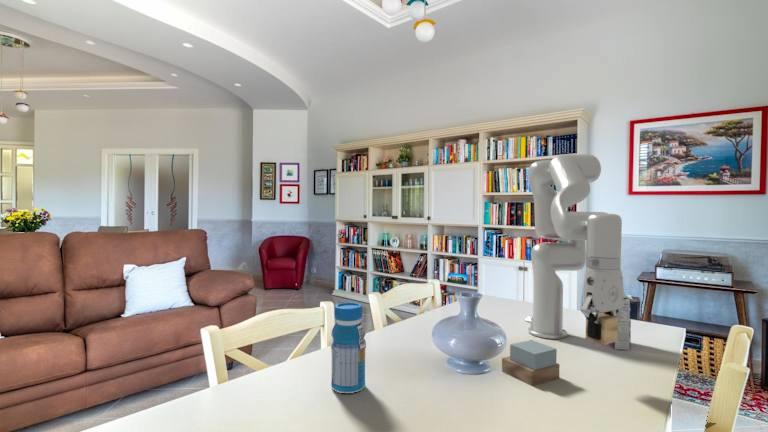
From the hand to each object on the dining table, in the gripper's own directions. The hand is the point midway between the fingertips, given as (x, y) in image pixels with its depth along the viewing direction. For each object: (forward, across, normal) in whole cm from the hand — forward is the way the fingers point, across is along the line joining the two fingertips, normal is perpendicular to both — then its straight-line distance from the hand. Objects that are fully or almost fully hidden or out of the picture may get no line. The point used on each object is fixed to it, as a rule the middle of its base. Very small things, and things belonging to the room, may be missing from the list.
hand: (601, 335), depth 100 cm
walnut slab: (+13, -12, +12) cm, 21 cm away
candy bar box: (+13, +32, +15) cm, 37 cm away
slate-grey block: (+8, -11, +11) cm, 18 cm away
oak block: (+1, 0, 0) cm, 1 cm away
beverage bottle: (+12, -56, +27) cm, 64 cm away
